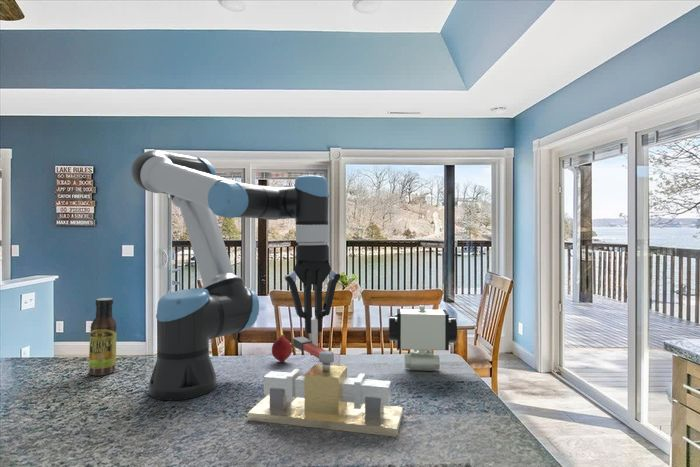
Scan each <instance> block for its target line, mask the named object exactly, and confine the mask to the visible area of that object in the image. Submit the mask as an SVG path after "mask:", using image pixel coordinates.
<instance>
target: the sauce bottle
mask: <svg viewBox="0 0 700 467" xmlns="http://www.w3.org/2000/svg"><path fill="white" fill-rule="evenodd" d="M113 304H114V299H113V298H112V297H100V298H96V299H95V308H96V309H95V318H94V319H93V321H92V322H91V323H90V331H89V347H88V348H89V352H88V354H89V355H88V368H89V369H88V371H89V372H88V373H89V374H90V375H91V376H105V375H106V376H107V375H110V374H112V373H114V372H115V370H116V362H117V334H118V333H117V322H116V320H115V318H114V317H113Z"/></svg>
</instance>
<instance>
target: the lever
mask: <svg viewBox="0 0 700 467" xmlns="http://www.w3.org/2000/svg"><path fill="white" fill-rule="evenodd" d="M292 347H294V348H296V349H297V350H299V351H301V352H304V351H305V352H307V353H308V354H310V355H312V356H314V357H315V358H317V359H318V362H319V363H320V364H323V363H330V364H331V363H333V362H335V360H334V359H335V353H334V351H332V350H326V349H324V348H321V347H319V345H318V346H316V345H314V344H312V341H311V340H309V338H307V337H305V336H297V337H293V338H292Z"/></svg>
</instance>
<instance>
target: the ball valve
mask: <svg viewBox="0 0 700 467" xmlns="http://www.w3.org/2000/svg"><path fill="white" fill-rule="evenodd" d="M418 307H419V309H418V308H416V309H415V308H414V309H413V308H410V309H409V308H397V309H396V313H395V314H394V315H388V341H389V342H391V341H392V342H395V343H394V344H396V347H397V348H396V349H397V350H413V352H409V353H404V368H405V369H406V370H407V369H408V370H409V369H410V371H427V372H434V371H435V370H436V371H437V370H440V366H441V361H440V355H439V354H434V352H433V353H432V351H450V348H449V347H450V346H451V344H452V343H457V339H458V323H457V318H456V317H454V316H450V313H448V311H447V310H446V309H426V308H425V307H426V306H425V305H424V304H423V305H422V304H420V305H418Z"/></svg>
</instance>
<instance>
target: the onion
mask: <svg viewBox="0 0 700 467" xmlns="http://www.w3.org/2000/svg"><path fill="white" fill-rule="evenodd" d="M285 336H286V335H285V334H281V335H280V336H279V338H277V339H275V341H274V342H273V343H272V345H271V354H272V356H273V357H274V359H275V360H277V361H279V362H280V363H284V362H286V360H287V359H288V358H290V356H291V355H292V353H293V352H292V351H293V345H292V343H291V342H290V341H289V339H287V338H286V337H285Z"/></svg>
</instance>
